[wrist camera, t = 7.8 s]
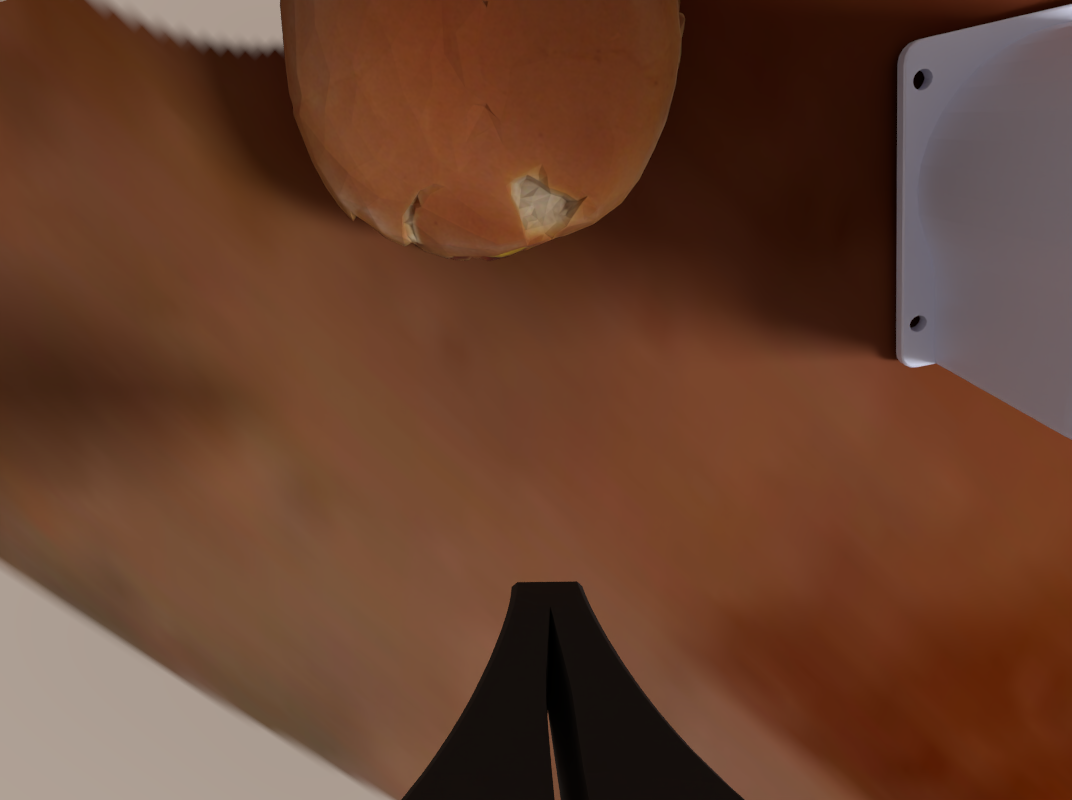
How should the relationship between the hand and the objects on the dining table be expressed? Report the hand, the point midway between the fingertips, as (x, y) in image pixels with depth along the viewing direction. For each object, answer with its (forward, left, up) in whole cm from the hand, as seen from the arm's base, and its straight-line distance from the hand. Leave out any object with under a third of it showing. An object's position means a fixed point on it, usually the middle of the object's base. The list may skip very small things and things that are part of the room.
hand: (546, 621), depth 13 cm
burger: (+11, -1, -10) cm, 15 cm away
